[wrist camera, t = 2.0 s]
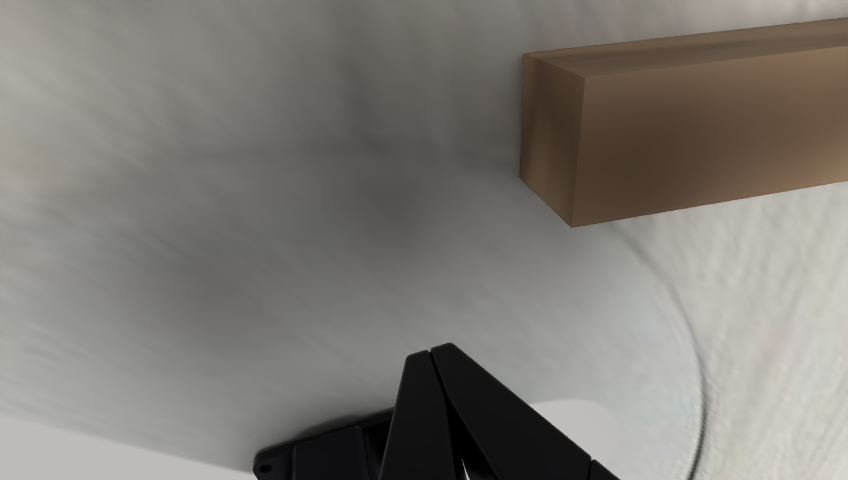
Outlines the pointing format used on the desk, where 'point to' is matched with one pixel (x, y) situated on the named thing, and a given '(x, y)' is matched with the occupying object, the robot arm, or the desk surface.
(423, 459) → the robot arm
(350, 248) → the desk surface
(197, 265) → the desk surface
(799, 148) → the brown wooden block
